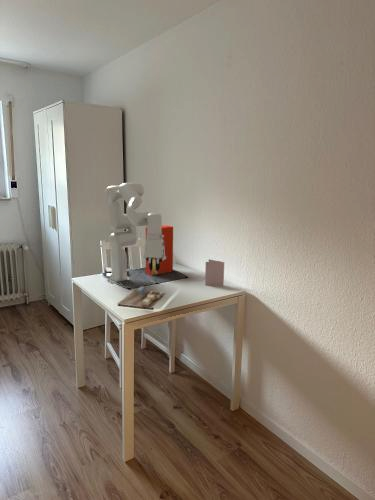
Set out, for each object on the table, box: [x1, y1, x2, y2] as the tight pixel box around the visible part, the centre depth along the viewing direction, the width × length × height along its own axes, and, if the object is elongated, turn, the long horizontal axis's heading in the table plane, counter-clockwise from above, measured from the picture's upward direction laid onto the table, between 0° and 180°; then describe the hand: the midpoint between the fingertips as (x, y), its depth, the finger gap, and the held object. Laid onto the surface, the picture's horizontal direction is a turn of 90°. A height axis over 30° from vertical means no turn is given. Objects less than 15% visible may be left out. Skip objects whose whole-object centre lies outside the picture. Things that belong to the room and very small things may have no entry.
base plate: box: [117, 289, 166, 311], centre depth 193 cm, size 19×22×2 cm
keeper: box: [137, 285, 147, 294], centre depth 198 cm, size 2×7×4 cm, turn 165°
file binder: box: [145, 224, 174, 276], centre depth 245 cm, size 8×17×32 cm, turn 127°
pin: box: [152, 258, 158, 275], centre depth 192 cm, size 3×3×9 cm
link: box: [141, 290, 163, 307], centre depth 190 cm, size 18×6×2 cm, turn 165°
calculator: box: [104, 267, 130, 276], centre depth 243 cm, size 11×4×15 cm
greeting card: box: [204, 259, 225, 287], centre depth 221 cm, size 11×7×15 cm, turn 54°
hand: (154, 269), depth 192 cm, fingers closed on pin, 2 cm apart
